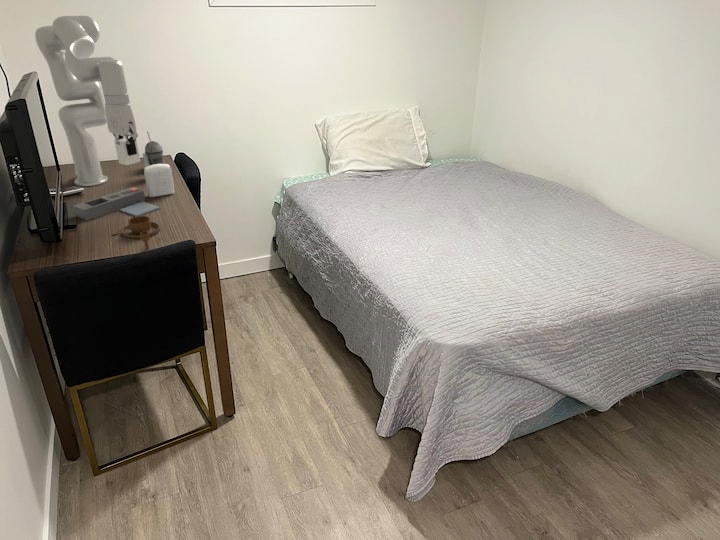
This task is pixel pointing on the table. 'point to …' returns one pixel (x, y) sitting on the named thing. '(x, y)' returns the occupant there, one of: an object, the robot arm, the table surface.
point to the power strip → (109, 203)
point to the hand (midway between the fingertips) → (128, 153)
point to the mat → (139, 209)
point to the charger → (125, 152)
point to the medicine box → (145, 160)
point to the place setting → (139, 228)
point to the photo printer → (159, 180)
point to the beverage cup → (154, 152)
